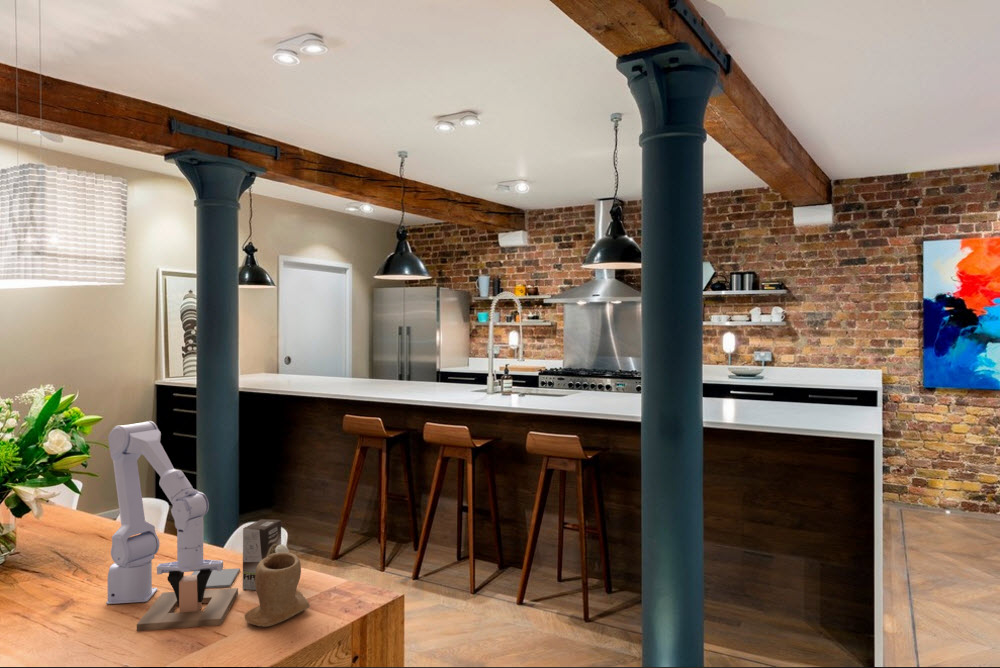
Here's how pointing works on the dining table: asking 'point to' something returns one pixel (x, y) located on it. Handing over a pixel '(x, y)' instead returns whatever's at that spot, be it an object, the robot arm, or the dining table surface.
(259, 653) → the dining table surface
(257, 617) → the stone cup
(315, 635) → the dining table surface
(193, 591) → the terracotta block
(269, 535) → the coffee box
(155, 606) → the walnut pocket board
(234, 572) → the slate mat
